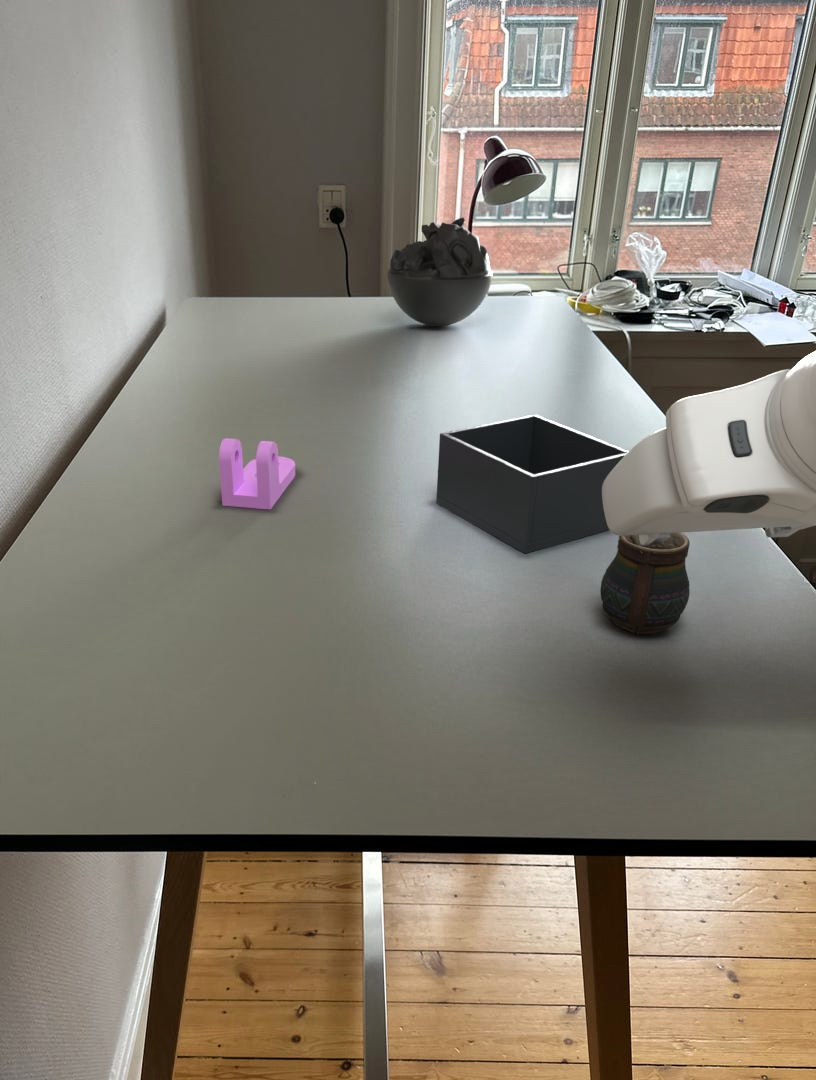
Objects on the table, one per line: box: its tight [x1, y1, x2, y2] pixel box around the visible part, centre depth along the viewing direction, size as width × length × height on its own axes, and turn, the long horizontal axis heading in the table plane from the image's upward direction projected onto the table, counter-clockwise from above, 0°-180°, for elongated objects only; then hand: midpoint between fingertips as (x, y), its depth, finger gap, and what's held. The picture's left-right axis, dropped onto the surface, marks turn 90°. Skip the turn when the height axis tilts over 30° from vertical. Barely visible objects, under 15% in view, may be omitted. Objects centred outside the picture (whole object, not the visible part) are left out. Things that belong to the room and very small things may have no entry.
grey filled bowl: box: [387, 217, 494, 327], centre depth 175 cm, size 20×20×19 cm
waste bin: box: [435, 414, 630, 554], centre depth 97 cm, size 13×15×8 cm
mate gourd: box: [600, 532, 691, 636], centre depth 76 cm, size 7×8×10 cm
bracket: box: [218, 438, 296, 511], centre depth 105 cm, size 13×6×7 cm, turn 167°
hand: (711, 531), depth 66 cm, fingers open, 8 cm apart
